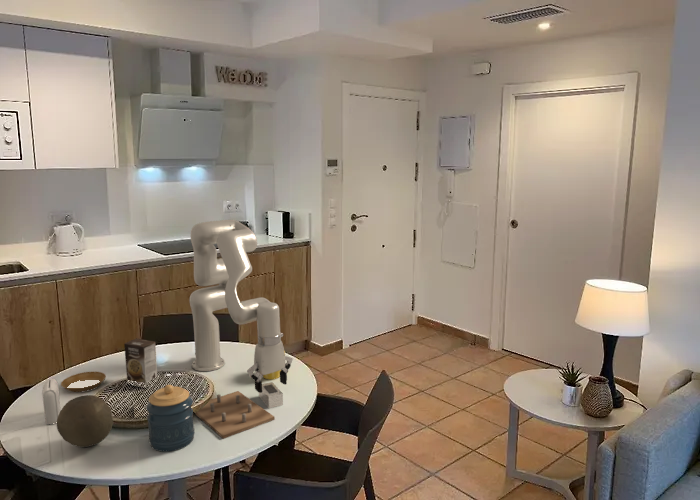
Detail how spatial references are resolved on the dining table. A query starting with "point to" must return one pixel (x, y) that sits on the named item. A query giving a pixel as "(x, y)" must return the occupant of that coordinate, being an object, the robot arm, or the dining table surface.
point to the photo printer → (51, 401)
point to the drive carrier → (271, 395)
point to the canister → (170, 419)
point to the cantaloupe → (85, 421)
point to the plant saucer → (83, 377)
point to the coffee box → (140, 360)
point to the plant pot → (272, 375)
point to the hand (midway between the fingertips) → (271, 387)
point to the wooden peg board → (233, 414)
